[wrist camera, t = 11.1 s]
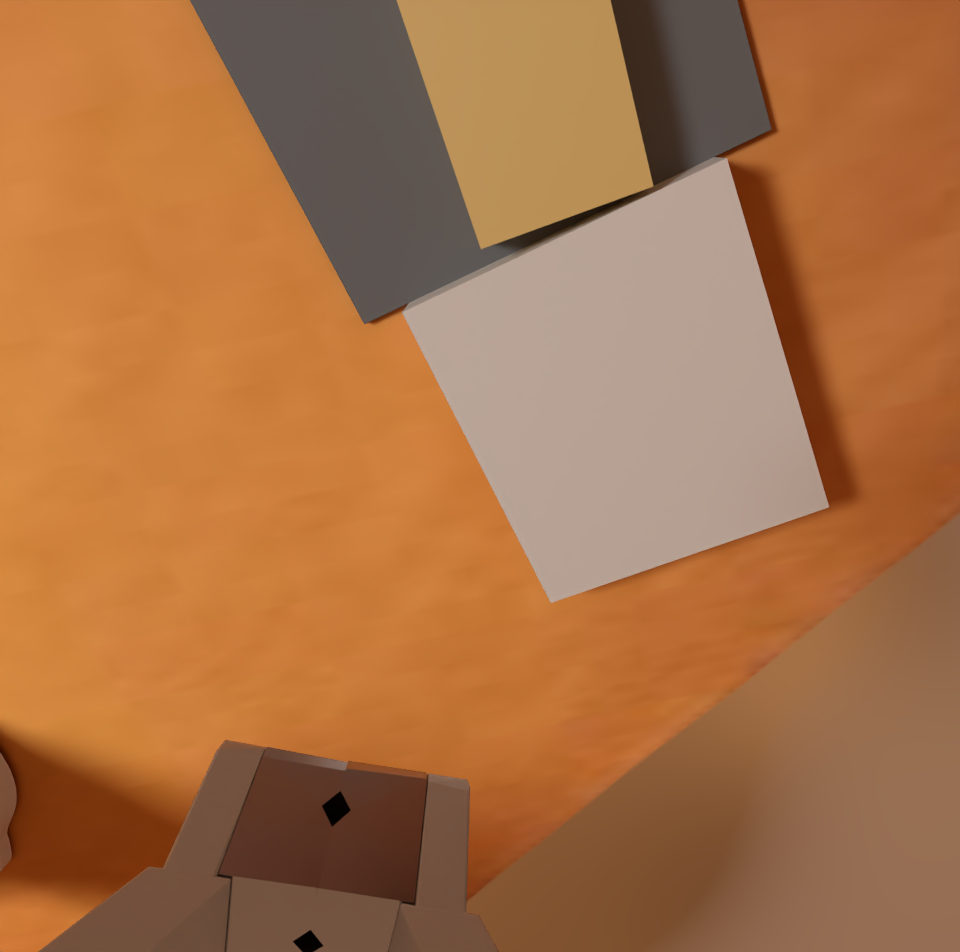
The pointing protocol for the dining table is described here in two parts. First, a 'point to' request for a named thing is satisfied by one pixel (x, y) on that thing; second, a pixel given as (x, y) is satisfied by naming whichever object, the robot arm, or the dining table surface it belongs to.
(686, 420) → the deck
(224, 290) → the dining table surface
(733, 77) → the mat
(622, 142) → the yellow rectangular block
